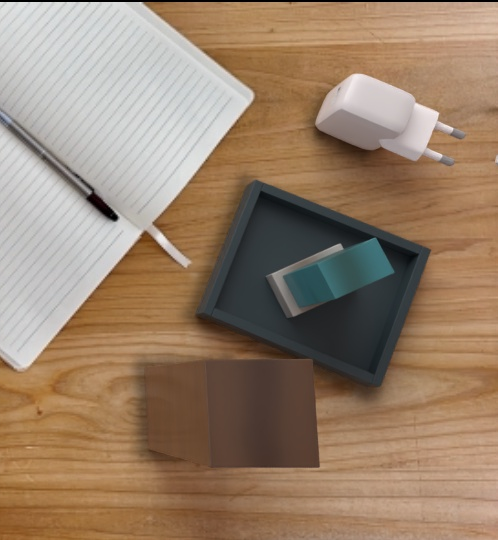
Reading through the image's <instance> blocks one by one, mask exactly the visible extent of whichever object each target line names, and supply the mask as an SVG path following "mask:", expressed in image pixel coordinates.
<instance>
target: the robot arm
mask: <svg viewBox="0 0 498 540" xmlns="http://www.w3.org/2000/svg"><path fill="white" fill-rule="evenodd" d="M494 163H495V165H496V166H497V167H498V154H496V156H495V159H494Z"/></svg>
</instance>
